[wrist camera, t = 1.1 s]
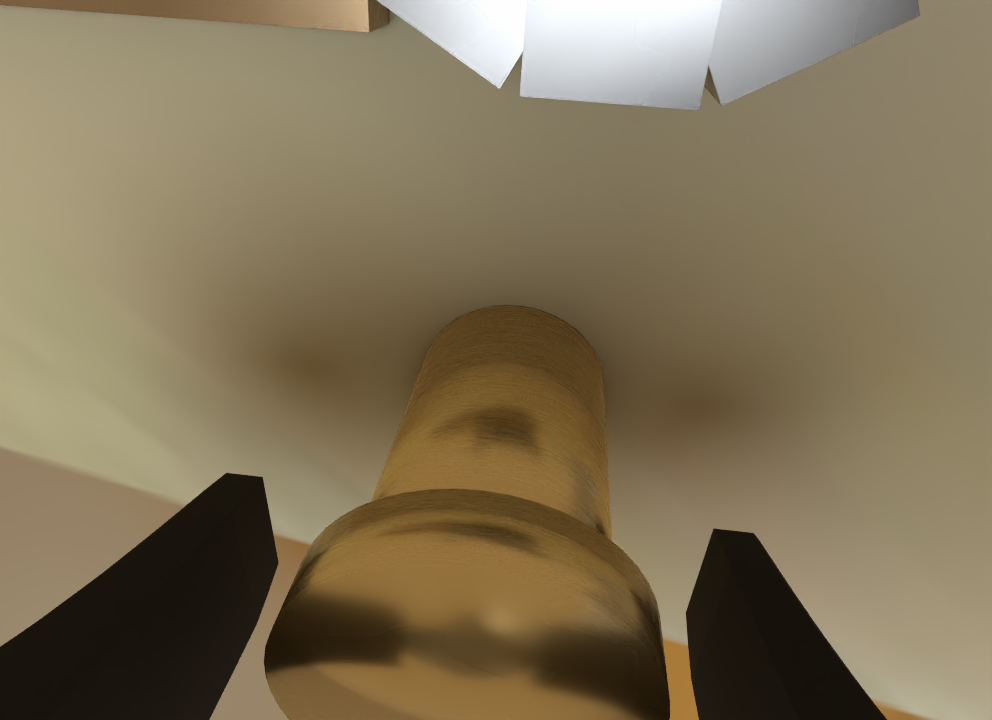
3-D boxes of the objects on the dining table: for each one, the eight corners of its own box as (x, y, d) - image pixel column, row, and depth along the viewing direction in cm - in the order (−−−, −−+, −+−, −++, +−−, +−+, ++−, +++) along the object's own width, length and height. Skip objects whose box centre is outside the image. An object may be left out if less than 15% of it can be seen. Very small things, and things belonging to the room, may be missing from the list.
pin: (652, 292, 13) (714, 599, 7) (612, 486, 16) (632, 826, 10) (391, 266, 13) (234, 539, 7) (398, 461, 16) (289, 776, 10)
